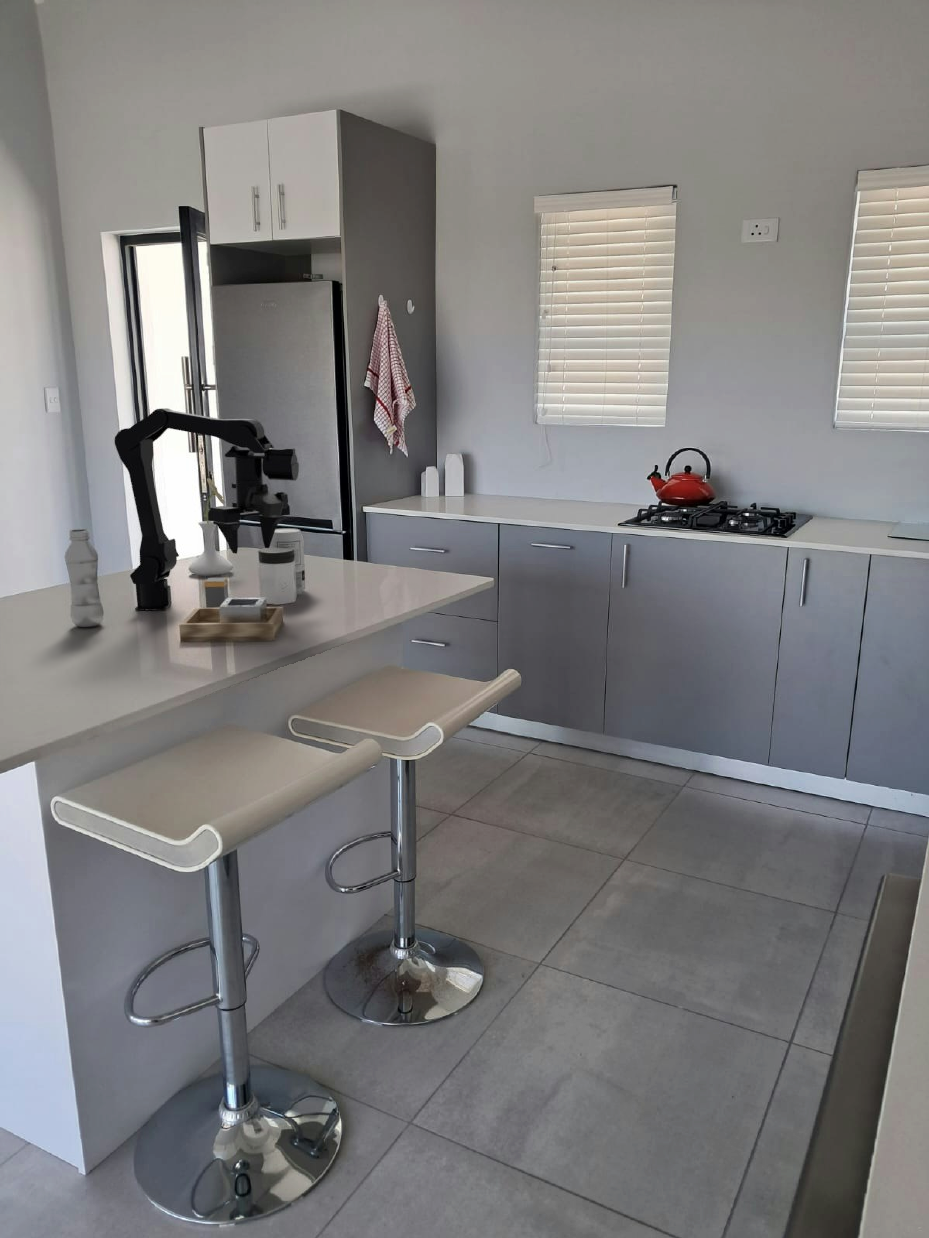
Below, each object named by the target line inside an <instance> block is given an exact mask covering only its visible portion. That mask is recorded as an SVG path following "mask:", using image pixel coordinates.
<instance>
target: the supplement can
mask: <svg viewBox="0 0 929 1238" xmlns="http://www.w3.org/2000/svg"><path fill="white" fill-rule="evenodd" d="M304 541H305V540H304V536H303V533H302V532H301V529H300V528H299V529H298V528H290V527H288V528H284V527H283V528H276V529H275V532H274V535H273V538H272V541H271V544H270V547H289V548H293V549H294V554H295V568H296V592H297V595H299V594H302V593H303V592H304V591H306V571H305V570H306V569H305V567H306V566H305V546H304V544H305V542H304Z"/></svg>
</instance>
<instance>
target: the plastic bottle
mask: <svg viewBox="0 0 929 1238" xmlns="http://www.w3.org/2000/svg"><path fill="white" fill-rule="evenodd" d="M89 540H90V533H89V529H86V528H77V529H74V528H73V529H70V530H69V541H70V544H69V546H68V547H67V549H66V551H65V554H64V560H65V565H66V569H67V573H68V578H69V583H70V596H71V597H70V601H71V602H70V613H69V615H70V619H71V623H72V624H73V625H75V627H81V628H91V627H95V626H99V625H101V624H102V623H103V621H104V616H105V615H104V614H105V611H104V606H103V603H102V602H101V596H100V590H99V583H98V581H99V580H98V579H99V577H98V570H99V554H98V552H97V550H96V548H95V547H94V546H93V545H92V543H90V542H89Z"/></svg>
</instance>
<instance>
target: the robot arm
mask: <svg viewBox="0 0 929 1238" xmlns="http://www.w3.org/2000/svg"><path fill="white" fill-rule="evenodd" d="M169 429H170V430H176V431H181V432H188V433H192V434H193V433H194V434H198V435H203V436H204V435H205V436H210V437H215V438H217V439H220V440H222V441H224V442H226V443H228V444H231V447H230V449H229V450H228V451H227V452H226V453H225V454H224V457H225V458H234V471H235V477H234V478H235V482H231V488H232V489H235V500H236V501H235V502H234V501H233V502H232V506H227V505H221V506H211V507H210V508H209V511H208V521H213V524H217V525H216V527H218V529H219V530H220V532H221V533H222V535H223V537H224V539H225V541H226V543H227V544H228V547H229V549H230V551H231V552H232V553H233V554H238V548H239V541H238V540H239V537H238V536H239V535H238V533H239V532H238V530H239V529H240V526H241V525H242V523H241V522H238V521H240V519H241V518H243V517H248V516H249V517H250V516H258V519H259V524H260V525H259V526H260V530H261V531H260V532H261V537H262V542H263V547H264V548H269V547H270V544H271V541H272V538H273V535H274V532H275V529H277V526H278V524H279V523H281V522H282V521H283V520H285V519H286V518H287V516H290V514H291V506H290V505H289V497H288V493H286V492H285V491H278V492H276V493H271V492H269V486H268V483H264V481H263V480H264V477H263V476H265V477H267V479H268V480H271V481H297V480H298V478H299V472H300V470H299V468H300V464H299V461H298V457H297V454H296V448H293V447H292V448H291V447H290V448H289V447H288V448H276V447H274V445H273V444H272V443H271V441H270V440H269V438H268V437H267V436H266V433H265V428H264V426H263V424H262V423H261V422H260V421H259V420H257V419H253V418H230V419H229V418H224V419H223V418H216V417H211V416H207V415H202V414H201V415H199V414H196V413H195V414H193V413H188V412H182V411H179V410H178V411H177V410H173V409H170V408H166V407H164V408H156V409H154V410H153V411H151V412H150V414H148V415H147V416H146V417H144V418H143V419H141V420H139V421H138V422H136V423H134V424H133V425H132V426H131V427H127V428H123V429H120V430H119V431H117V433H116V435H115V437H114V439H113V441H114V446H115V449H116V452H117V454H118V457H119V459H120V461H121V462H122V464H123V466H125V469H126V470H127V472H128V474H129V479H130V485H131V489H132V493H133V499H134V503H135V508H136V509H135V510H136V512H137V518H138V523H139V527H140V532H141V541H140V546H139V565H138V566H137V567H136V568H135V570H134V571H132V572H131V573H130V575H129V576H130V578H131V582H132V583H133V585H135V594H136V604H137V606H136V607H134V609H135V611H165V610H166V609H168V607H170V606H171V605H172V591H171V585H169V584H168V578H169V576H170V574H171V571H172V569H174V568H175V566H176V565H177V561H178V560H177V559H178V558H177V557H180V554H179V553H178V550H177V544H176V543H177V542H176V539H175V538H171V539H169V538H168V536H167V534H166V533H165V531H164V527H163V521H162V515H161V511H160V507H159V502H158V498H157V492H156V486H155V481H154V477H153V471H152V465H153V458H154V455H155V454H154V442H156V440H158V439H160V438H161V437H162V436H163V434H165V432H166V431H167V430H169ZM240 448H242V449H240ZM243 448H244V449H243ZM245 448H247V449H245ZM263 474H264V475H263Z"/></svg>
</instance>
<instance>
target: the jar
mask: <svg viewBox="0 0 929 1238" xmlns="http://www.w3.org/2000/svg"><path fill="white" fill-rule="evenodd" d="M257 553H258V563H257V566H258V567H257V568H258V582H259V598H266V602H267V604H268V605H273V606H274V605H275V606H277V605H283V604H285V605H286V604H291V603H292V604H293V603H295V601H296V600H297V595H298V594H297V592H296V568H295V554H294V549H293V548H289V547H269V548H265V547H264V548H260V549H259V550H258V551H257Z"/></svg>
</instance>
